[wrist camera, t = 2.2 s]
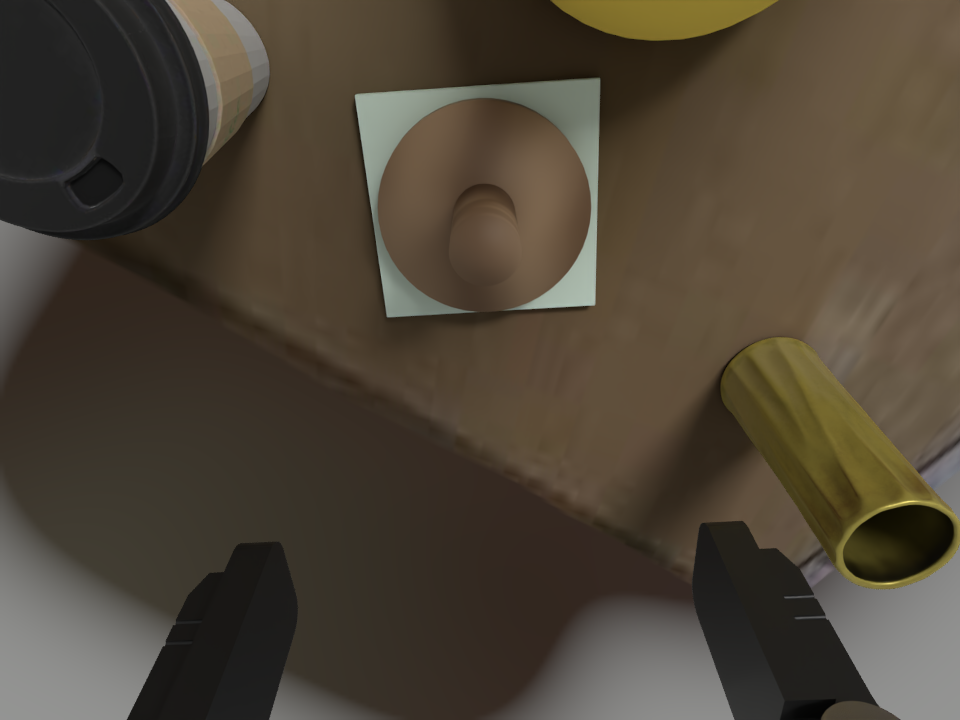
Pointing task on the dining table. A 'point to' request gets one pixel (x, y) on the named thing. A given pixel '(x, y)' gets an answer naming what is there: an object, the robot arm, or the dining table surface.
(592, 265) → the mat
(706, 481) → the dining table surface
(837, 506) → the vase
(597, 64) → the dining table surface
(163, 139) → the coffee cup
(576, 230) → the lid
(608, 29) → the teapot
